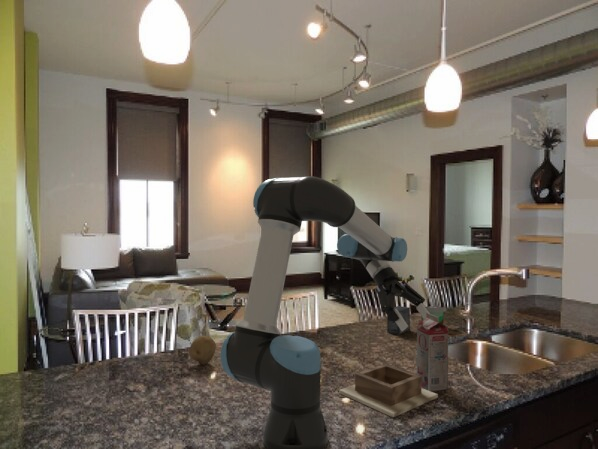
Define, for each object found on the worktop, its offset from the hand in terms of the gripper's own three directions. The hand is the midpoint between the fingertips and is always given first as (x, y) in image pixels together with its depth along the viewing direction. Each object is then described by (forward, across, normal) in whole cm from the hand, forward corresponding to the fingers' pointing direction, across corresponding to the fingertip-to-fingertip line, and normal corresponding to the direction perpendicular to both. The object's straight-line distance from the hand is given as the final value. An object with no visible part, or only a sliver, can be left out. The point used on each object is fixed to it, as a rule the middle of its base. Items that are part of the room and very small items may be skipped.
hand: (418, 325), depth 142 cm
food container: (-11, -58, -36) cm, 70 cm away
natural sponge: (-27, +47, -52) cm, 75 cm away
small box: (-15, -41, -41) cm, 60 cm away
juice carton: (+17, +1, -8) cm, 19 cm away
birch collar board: (+14, +17, -11) cm, 24 cm away
